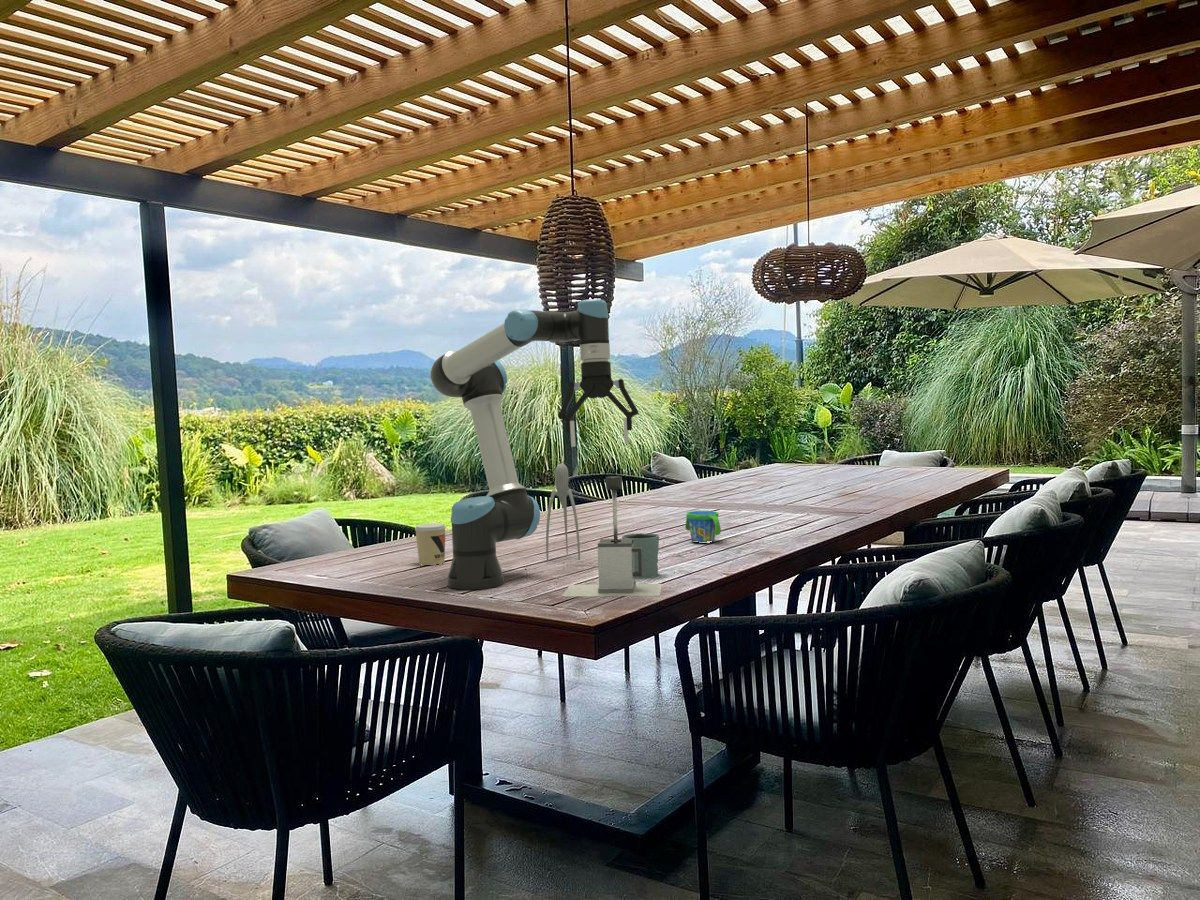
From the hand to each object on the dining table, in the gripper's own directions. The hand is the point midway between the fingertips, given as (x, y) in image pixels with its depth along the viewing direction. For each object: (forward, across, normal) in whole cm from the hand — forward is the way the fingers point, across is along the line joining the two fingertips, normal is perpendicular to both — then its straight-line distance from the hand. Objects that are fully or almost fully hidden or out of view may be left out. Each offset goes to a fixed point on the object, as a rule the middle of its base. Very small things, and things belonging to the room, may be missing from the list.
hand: (599, 445), depth 233 cm
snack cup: (+37, +25, +78) cm, 90 cm away
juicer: (+37, -18, +51) cm, 65 cm away
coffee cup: (+36, -59, +45) cm, 82 cm away
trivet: (+38, +2, -3) cm, 38 cm away
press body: (+36, +3, -2) cm, 37 cm away
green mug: (+38, +8, +17) cm, 42 cm away
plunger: (+26, +3, -2) cm, 27 cm away
